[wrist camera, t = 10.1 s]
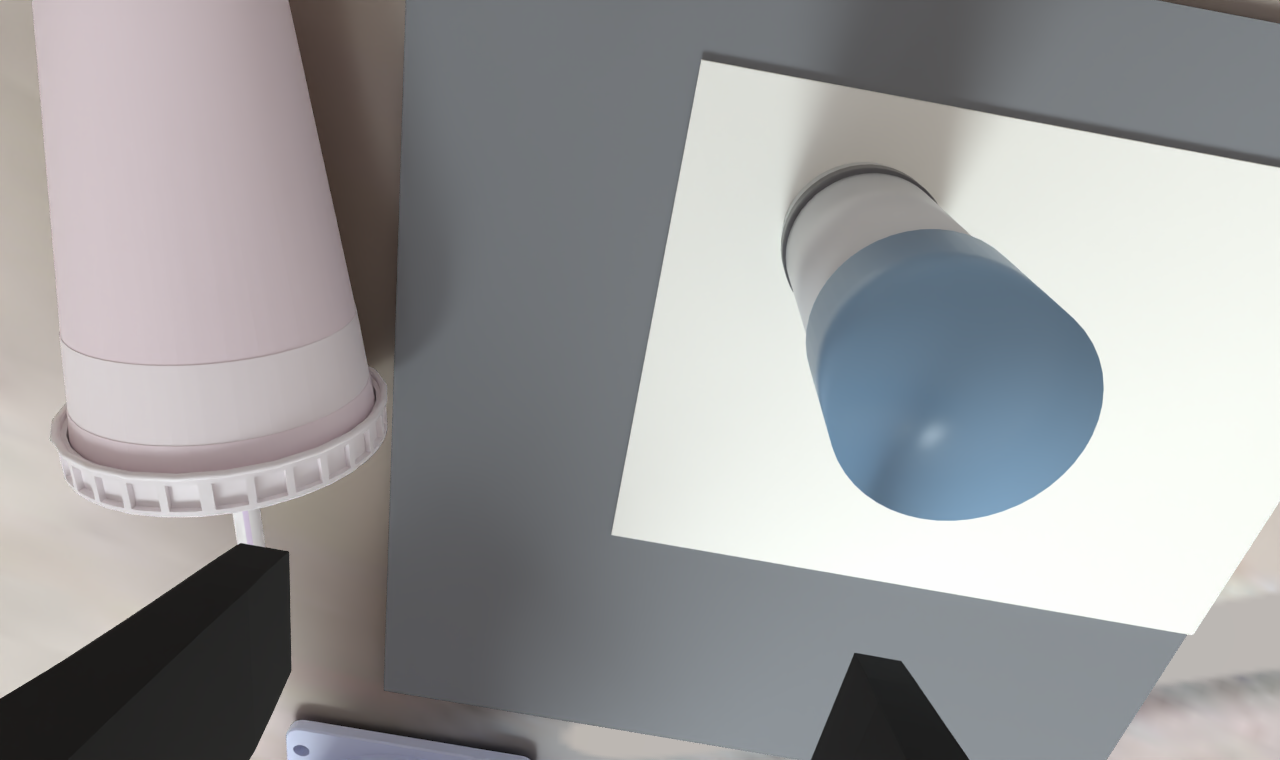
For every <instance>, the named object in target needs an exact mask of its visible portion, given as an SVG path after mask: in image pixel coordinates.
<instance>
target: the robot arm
mask: <svg viewBox="0 0 1280 760" xmlns="http://www.w3.org/2000/svg"><path fill="white" fill-rule="evenodd" d="M290 672H291V627H290V574H289V552H288V551H283V550H277V549H271V548H266V547H260V546H255V545H249V544H243V543H240V544H238V545H236V546H235V547H233V548H232V549H230V550H229V551H227V552H226V553H224V554H223V555H221V556H220V557H218V558H217V559H215V560H214V561H212V562H211V563H209V564H208V565H206V566H205V567H203V568H202V569H200V570H199V571H197V572H196V573H194V574H193V575H191V576H190V577H188V578H187V579H185V580H184V581H183V582H181V583H180V584H178V585H177V586H175V587H174V588H172V589H171V590H169V591H168V592H166V593H165V594H163V595H162V596H160V597H159V598H157V599H156V600H155V601H153V602H152V603H150V604H149V605H147V606H146V607H144V608H143V609H141V610H140V611H138V612H137V613H135V614H134V615H132V616H131V617H129V618H128V619H126V620H125V621H123V622H122V623H120V624H119V625H117V626H115V627H114V628H112V629H111V630H109V631H108V632H106V633H105V634H103V635H102V636H100V637H99V638H97V639H96V640H94V641H92V642H91V643H89V644H88V645H86V646H85V647H83V648H82V649H80V650H79V651H77V652H76V653H74V654H72V655H71V656H69V657H68V658H66V659H65V660H63V661H62V662H60V663H58V664H57V665H55V666H54V667H52V668H50V669H49V670H47V671H45V672H44V673H42V674H40V675H39V676H37V677H36V678H34V679H32V680H31V681H29V682H27V683H26V684H24V685H22V686H21V687H19V688H17V689H16V690H14V691H12V692H11V693H9V694H7V695H6V696H4V697H2V698H1V699H0V760H249V759H250V758H251V756H252V754H253V753H254V751H255V749H256V747H257V745H258V743H259V741H260V739H261V736H262V734H263V732H264V730H265V728H266V726H267V724H268V722H269V719H270V717H271V715H272V713H273V711H274V709H275V706H276V704H277V702H278V700H279V697H280V695H281V693H282V691H283V688H284V686H285V684H286V681H287V679H288V677H289V675H290ZM286 745H287V760H530V759H529V758H527V757H524V756H520V755H514V754H508V753H502V752H496V751H489V750H483V749H477V748H471V747H465V746H459V745H453V744H447V743H441V742H435V741H429V740H423V739H417V738H411V737H405V736H399V735H393V734H387V733H381V732H375V731H369V730H363V729H357V728H351V727H345V726H339V725H333V724H327V723H321V722H315V721H308V720H298V721H295V722H293V723H292V724H291V726H290V728H289V730H288V732H287V735H286ZM811 760H969V758H968V757H967V755H966V754H965V752H964V751H963V749H962V748H961V747H960V745H959V744H958V742H957V741H956V739H955V738H954V736H953V735H952V734H951V732H950V731H949V729H948V728H947V726H946V725H945V723H944V722H943V720H942V719H941V718H940V716H939V715H938V713H937V712H936V710H935V709H934V707H933V706H932V704H931V703H930V701H929V700H928V698H927V697H926V696H925V694H924V693H923V691H922V690H921V688H920V687H919V685H918V684H917V682H916V681H915V679H914V678H913V677H912V675H911V674H910V672H909V671H908V669H907V668H906V667H905V665H904V664H903V662H902V661H899V660H893V659H888V658H882V657H877V656H871V655H865V654H860V653H854V655H853V658H852V660H851V662H850V665H849V667H848V670H847V672H846V675H845V677H844V680H843V682H842V685H841V687H840V690H839V692H838V694H837V697H836V699H835V702H834V704H833V707H832V709H831V712H830V714H829V717H828V719H827V721H826V724H825V726H824V729H823V731H822V734H821V736H820V739H819V741H818V744H817V746H816V748H815V751H814V753H813V756H812V758H811Z"/></svg>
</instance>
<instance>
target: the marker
mask: <svg viewBox="0 0 1280 760" xmlns="http://www.w3.org/2000/svg"><path fill="white" fill-rule="evenodd" d="M781 259H782V263H783V267H784V271H785V274H786V278H787V280H788V283H789V285H790V288H791V289H792V291H793V293H794V296H795V299H796V302H797V306H798V309H799V312H800V316H801V319H802V322H803V326H804V329H805V332H806V353H807V359H808V363H809V367H810V371H811V375H812V378H813V382H814V385H815V389H816V392H817V396H818V399H819V403H820V406H821V410H822V413H823V417H824V420H825V424H826V427H827V431H828V434H829V438H830V441H831V445H832V448H833V451H834V453H835V456H836V458H837V460H838V462H839V464H840V466H841V467H842V469H843V471H844V472H845V474H846V475H847V476H848V478H849V479H850V480H851V481H852V482H853V484H854V485H855V486H856V487H857V488H859V489H860V490H861V491H862V492H863V493H864V494H865V495H867V496H868V497H870V498H871V499H872V500H874V501H875V502H877V503H879V504H881V505H883V506H884V507H886V508H888V509H890V510H893V511H896V512H898V513H901V514H904V515H907V516H912V517H916V518H920V519H928V520H936V521H958V520H969V519H975V518H980V517H985V516H989V515H992V514H996V513H999V512H1002V511H1005V510H1008V509H1010V508H1012V507H1015V506H1017V505H1020V504H1022V503H1023V502H1025V501H1027V500H1029V499H1031V498H1033V497H1035V496H1036V495H1038V494H1039V493H1041V492H1042V491H1044V490H1045V489H1047V488H1048V487H1049V486H1051V485H1052V484H1053V483H1054V482H1055V481H1057V480H1058V479H1059V478H1060V477H1061V476H1062V475H1063V474H1064V473H1065V472H1066V471H1067V470H1068V469H1069V468H1070V467H1071V466H1072V465H1073V464H1074V463H1075V461H1076V460H1077V459H1078V457H1079V456H1080V455H1081V453H1082V452H1083V451H1084V449H1085V447H1086V446H1087V444H1088V442H1089V440H1090V439H1091V437H1092V435H1093V433H1094V430H1095V428H1096V425H1097V423H1098V420H1099V416H1100V412H1101V408H1102V403H1103V392H1104V384H1103V372H1102V368H1101V364H1100V360H1099V357H1098V354H1097V352H1096V349H1095V347H1094V345H1093V343H1092V341H1091V340H1090V338H1089V337H1088V335H1087V333H1086V332H1085V330H1084V329H1083V328H1082V327H1081V326H1080V325H1079V324H1078V323H1077V322H1076V320H1075V319H1074V318H1073V317H1072V316H1070V315H1069V314H1068V313H1067V312H1066V311H1065V310H1064V309H1063V308H1062V307H1060V306H1059V305H1058V304H1057V303H1056V302H1055V301H1054V300H1053V299H1051V298H1050V297H1049V296H1048V295H1047V294H1046V293H1045V292H1044V291H1043V290H1041V289H1040V288H1039V287H1038V286H1037V285H1036V284H1035V283H1034V282H1032V281H1031V280H1030V279H1029V278H1028V277H1027V276H1026V275H1025V274H1024V273H1022V272H1021V271H1020V270H1019V269H1018V268H1017V267H1016V266H1015V265H1013V264H1012V263H1011V262H1010V261H1009V260H1008V259H1007V258H1006V257H1005V256H1003V255H1002V254H1001V253H1000V252H998V251H997V250H996V249H995V248H993V247H992V246H990V245H989V244H987V243H985V242H983V241H982V240H980V239H977V238H975V237H972V236H971V235H970V234H969V233H968V232H967V231H966V230H965V229H964V228H963V227H961V226H960V225H959V224H958V223H957V222H956V221H955V220H954V219H953V218H952V217H951V216H950V215H949V214H947V213H946V212H945V211H944V210H943V209H942V208H941V207H940V206H939V205H938V204H937V202H936V201H935V199H934V198H933V197H932V196H931V195H930V194H929V192H928V191H927V190H926V189H925V188H923V187H922V186H921V185H920V184H919V183H918V182H917V181H915V180H914V179H913V178H912V177H910V176H908V175H907V174H905V173H903V172H901V171H899V170H896V169H894V168H891V167H889V166H886V165H882V164H878V163H871V162H855V163H849V164H844V165H841V166H837V167H835V168H832V169H830V170H827V171H826V172H824V173H822V174H820V175H819V176H817V177H816V178H814V179H813V180H812V181H810V182H809V183H808V184H807V185H806V186H805V187H804V188H803V189H802V190H801V191H800V192H799V194H798V195H797V196H796V197H795V199H794V200H793V202H792V204H791V205H790V207H789V209H788V211H787V214H786V216H785V219H784V223H783V227H782V233H781Z"/></svg>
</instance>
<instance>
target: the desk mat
mask: <svg viewBox="0 0 1280 760" xmlns="http://www.w3.org/2000/svg"><path fill="white" fill-rule="evenodd" d="M701 59H703V60H708V61H713V62H719V63H724V64H729V65H735V66H740V67H745V68H751V69H756V70H762V71H767V72H772V73H778V74H783V75H788V76H794V77H799V78H804V79H810V80H815V81H820V82H826V83H831V84H836V85H842V86H847V87H853V88H858V89H863V90H869V91H874V92H879V93H885V94H890V95H895V96H901V97H906V98H911V99H917V100H922V101H927V102H933V103H938V104H943V105H949V106H954V107H960V108H965V109H970V110H976V111H981V112H986V113H992V114H997V115H1002V116H1008V117H1013V118H1018V119H1024V120H1029V121H1034V122H1040V123H1045V124H1051V125H1056V126H1061V127H1067V128H1072V129H1077V130H1083V131H1088V132H1093V133H1099V134H1104V135H1109V136H1115V137H1120V138H1125V139H1131V140H1136V141H1142V142H1147V143H1152V144H1158V145H1163V146H1168V147H1174V148H1179V149H1184V150H1190V151H1195V152H1200V153H1206V154H1211V155H1216V156H1222V157H1227V158H1233V159H1238V160H1243V161H1249V162H1254V163H1259V164H1265V165H1270V166H1275V167H1280V24H1279V23H1274V22H1268V21H1263V20H1258V19H1253V18H1247V17H1242V16H1237V15H1232V14H1226V13H1221V12H1216V11H1211V10H1205V9H1200V8H1195V7H1190V6H1185V5H1179V4H1174V3H1169V2H1164V1H1158V0H406V12H405V43H404V74H403V105H402V137H401V168H400V199H399V230H398V262H397V293H396V324H395V355H394V387H393V418H392V449H391V480H390V512H389V543H388V574H387V605H386V637H385V668H384V691H389V692H395V693H401V694H407V695H413V696H419V697H425V698H431V699H437V700H443V701H449V702H455V703H461V704H467V705H473V706H479V707H485V708H491V709H497V710H503V711H509V712H515V713H521V714H527V715H533V716H539V717H545V718H551V719H557V720H563V721H569V722H575V723H581V724H587V725H593V726H599V727H605V728H611V729H617V730H624V731H629V732H635V733H641V734H647V735H653V736H659V737H665V738H671V739H677V740H683V741H689V742H695V743H702V744H707V745H713V746H719V747H725V748H731V749H737V750H743V751H749V752H755V753H761V754H767V755H773V756H779V757H785V758H791V759H797V760H811V758H812V756H813V753H814V751H815V748H816V746H817V744H818V741H819V739H820V736H821V734H822V731H823V729H824V726H825V724H826V721H827V719H828V717H829V714H830V712H831V709H832V707H833V704H834V702H835V699H836V697H837V694H838V692H839V690H840V687H841V685H842V682H843V680H844V677H845V675H846V672H847V670H848V667H849V665H850V662H851V660H852V658H853V655H854V653H860V654H865V655H871V656H877V657H882V658H888V659H893V660H899V661H902V662H903V664H904V665H905V667H906V668H907V669H908V671H909V672H910V674H911V675H912V677H913V678H914V679H915V681H916V682H917V684H918V685H919V687H920V688H921V690H922V691H923V693H924V694H925V696H926V697H927V698H928V700H929V701H930V703H931V704H932V706H933V707H934V709H935V710H936V712H937V713H938V715H939V716H940V718H941V719H942V720H943V722H944V723H945V725H946V726H947V728H948V729H949V731H950V732H951V734H952V735H953V736H954V738H955V739H956V741H957V742H958V744H959V745H960V747H961V748H962V749H963V751H964V752H965V754H966V755H967V757H968V758H969V760H1107V759H1108V757H1109V755H1110V754H1111V752H1112V751H1113V749H1114V748H1115V746H1116V745H1117V743H1118V741H1119V740H1120V738H1121V737H1122V735H1123V734H1124V732H1125V731H1126V729H1127V727H1128V726H1129V724H1130V723H1131V721H1132V720H1133V718H1134V717H1135V715H1136V713H1137V712H1138V710H1139V709H1140V707H1141V706H1142V704H1143V703H1144V701H1145V699H1146V698H1147V696H1148V695H1149V693H1150V692H1151V690H1152V689H1153V687H1154V686H1155V684H1156V682H1157V681H1158V679H1159V678H1160V676H1161V675H1162V673H1163V672H1164V670H1165V668H1166V667H1167V665H1168V664H1169V662H1170V661H1171V659H1172V658H1173V656H1174V654H1175V653H1176V651H1177V650H1178V648H1179V646H1180V645H1181V644H1182V642H1183V640H1184V639H1185V637H1186V636H1187V634H1182V633H1176V632H1170V631H1165V630H1159V629H1153V628H1147V627H1141V626H1136V625H1130V624H1124V623H1118V622H1113V621H1107V620H1101V619H1095V618H1089V617H1084V616H1078V615H1072V614H1066V613H1060V612H1055V611H1049V610H1043V609H1037V608H1031V607H1026V606H1020V605H1014V604H1008V603H1002V602H997V601H991V600H985V599H979V598H973V597H968V596H962V595H956V594H950V593H944V592H939V591H933V590H927V589H921V588H915V587H910V586H904V585H898V584H892V583H887V582H881V581H875V580H869V579H863V578H858V577H852V576H846V575H840V574H834V573H829V572H823V571H817V570H811V569H805V568H800V567H794V566H788V565H782V564H776V563H771V562H765V561H759V560H753V559H747V558H742V557H736V556H730V555H724V554H718V553H713V552H707V551H701V550H695V549H689V548H684V547H678V546H672V545H666V544H661V543H655V542H649V541H643V540H637V539H632V538H626V537H620V536H614V535H611V534H612V528H613V523H614V517H615V512H616V507H617V501H618V496H619V491H620V486H621V480H622V475H623V470H624V465H625V459H626V454H627V449H628V443H629V438H630V433H631V428H632V422H633V417H634V412H635V407H636V401H637V396H638V391H639V385H640V380H641V375H642V370H643V364H644V359H645V354H646V349H647V343H648V338H649V333H650V327H651V322H652V317H653V312H654V306H655V301H656V296H657V291H658V285H659V280H660V275H661V269H662V264H663V259H664V254H665V248H666V243H667V238H668V233H669V227H670V222H671V217H672V211H673V206H674V201H675V196H676V190H677V185H678V180H679V175H680V169H681V164H682V159H683V153H684V148H685V143H686V138H687V132H688V127H689V122H690V117H691V111H692V106H693V101H694V96H695V90H696V85H697V80H698V74H699V69H700V64H701Z"/></svg>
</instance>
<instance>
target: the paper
mask: <svg viewBox="0 0 1280 760" xmlns="http://www.w3.org/2000/svg"><path fill="white" fill-rule="evenodd" d="M855 162H871V163H878V164H882V165H886V166H889V167H891V168H894V169H896V170H899V171H901V172H903V173H905V174H907V175H908V176H910V177H912V178H913V179H914V180H915V181H917V182H918V183H919V184H920V185H921V186H922V187H923V188H925V189H926V190H927V191H928V192H929V194H930V195H931V196H932V197H933V198H934V199H935V201H936V202H937V204H938V205H939V206H940V207H941V208H942V209H943V210H944V211H945V212H946V213H947V214H949V215H950V216H951V217H952V218H953V219H954V220H955V221H956V222H957V223H958V224H959V225H960V226H961V227H963V228H964V229H965V230H966V231H967V232H968V233H969V234H970V235H971V236H972V237H975V238H977V239H980V240H982V241H983V242H985V243H987V244H989V245H990V246H992V247H993V248H995V249H996V250H997V251H998V252H1000V253H1001V254H1002V255H1003V256H1005V257H1006V258H1007V259H1008V260H1009V261H1010V262H1011V263H1012V264H1013V265H1015V266H1016V267H1017V268H1018V269H1019V270H1020V271H1021V272H1022V273H1024V274H1025V275H1026V276H1027V277H1028V278H1029V279H1030V280H1031V281H1032V282H1034V283H1035V284H1036V285H1037V286H1038V287H1039V288H1040V289H1041V290H1043V291H1044V292H1045V293H1046V294H1047V295H1048V296H1049V297H1050V298H1051V299H1053V300H1054V301H1055V302H1056V303H1057V304H1058V305H1059V306H1060V307H1062V308H1063V309H1064V310H1065V311H1066V312H1067V313H1068V314H1069V315H1070V316H1072V317H1073V318H1074V319H1075V320H1076V322H1077V323H1078V324H1079V325H1080V326H1081V327H1082V328H1083V329H1084V330H1085V332H1086V333H1087V335H1088V337H1089V338H1090V340H1091V341H1092V343H1093V345H1094V347H1095V349H1096V352H1097V354H1098V357H1099V360H1100V364H1101V368H1102V372H1103V384H1104V392H1103V403H1102V408H1101V412H1100V416H1099V420H1098V423H1097V425H1096V428H1095V430H1094V433H1093V435H1092V437H1091V439H1090V440H1089V442H1088V444H1087V446H1086V447H1085V449H1084V451H1083V452H1082V453H1081V455H1080V456H1079V457H1078V459H1077V460H1076V461H1075V463H1074V464H1073V465H1072V466H1071V467H1070V468H1069V469H1068V470H1067V471H1066V472H1065V473H1064V474H1063V475H1062V476H1061V477H1060V478H1059V479H1058V480H1057V481H1055V482H1054V483H1053V484H1052V485H1051V486H1049V487H1048V488H1047V489H1045V490H1044V491H1042V492H1041V493H1039V494H1038V495H1036V496H1035V497H1033V498H1031V499H1029V500H1027V501H1025V502H1023V503H1022V504H1020V505H1017V506H1015V507H1012V508H1010V509H1008V510H1005V511H1002V512H999V513H996V514H992V515H989V516H985V517H980V518H975V519H969V520H958V521H936V520H928V519H920V518H916V517H912V516H907V515H904V514H901V513H898V512H896V511H893V510H890V509H888V508H886V507H884V506H883V505H881V504H879V503H877V502H875V501H874V500H872V499H871V498H870V497H868V496H867V495H865V494H864V493H863V492H862V491H861V490H860V489H859V488H857V487H856V486H855V485H854V484H853V482H852V481H851V480H850V479H849V478H848V476H847V475H846V474H845V472H844V471H843V469H842V467H841V466H840V464H839V462H838V460H837V458H836V456H835V453H834V451H833V448H832V445H831V441H830V438H829V434H828V431H827V427H826V424H825V420H824V417H823V413H822V410H821V406H820V403H819V399H818V396H817V392H816V389H815V385H814V382H813V378H812V375H811V371H810V367H809V363H808V359H807V353H806V332H805V329H804V326H803V322H802V319H801V316H800V312H799V309H798V306H797V302H796V299H795V296H794V293H793V291H792V289H791V288H790V285H789V283H788V280H787V278H786V274H785V271H784V267H783V263H782V259H781V233H782V227H783V223H784V219H785V216H786V214H787V211H788V209H789V207H790V205H791V204H792V202H793V200H794V199H795V197H796V196H797V195H798V194H799V192H800V191H801V190H802V189H803V188H804V187H805V186H806V185H807V184H808V183H809V182H810V181H812V180H813V179H814V178H816V177H817V176H819V175H820V174H822V173H824V172H826V171H827V170H830V169H832V168H835V167H837V166H841V165H844V164H849V163H855ZM1279 502H1280V167H1275V166H1270V165H1265V164H1259V163H1254V162H1249V161H1243V160H1238V159H1233V158H1227V157H1222V156H1216V155H1211V154H1206V153H1200V152H1195V151H1190V150H1184V149H1179V148H1174V147H1168V146H1163V145H1158V144H1152V143H1147V142H1142V141H1136V140H1131V139H1125V138H1120V137H1115V136H1109V135H1104V134H1099V133H1093V132H1088V131H1083V130H1077V129H1072V128H1067V127H1061V126H1056V125H1051V124H1045V123H1040V122H1034V121H1029V120H1024V119H1018V118H1013V117H1008V116H1002V115H997V114H992V113H986V112H981V111H976V110H970V109H965V108H960V107H954V106H949V105H943V104H938V103H933V102H927V101H922V100H917V99H911V98H906V97H901V96H895V95H890V94H885V93H879V92H874V91H869V90H863V89H858V88H853V87H847V86H842V85H836V84H831V83H826V82H820V81H815V80H810V79H804V78H799V77H794V76H788V75H783V74H778V73H772V72H767V71H762V70H756V69H751V68H745V67H740V66H735V65H729V64H724V63H719V62H713V61H708V60H703V59H701V64H700V69H699V74H698V80H697V85H696V90H695V96H694V101H693V106H692V111H691V117H690V122H689V127H688V132H687V138H686V143H685V148H684V153H683V159H682V164H681V169H680V175H679V180H678V185H677V190H676V196H675V201H674V206H673V211H672V217H671V222H670V227H669V233H668V238H667V243H666V248H665V254H664V259H663V264H662V269H661V275H660V280H659V285H658V291H657V296H656V301H655V306H654V312H653V317H652V322H651V327H650V333H649V338H648V343H647V349H646V354H645V359H644V364H643V370H642V375H641V380H640V385H639V391H638V396H637V401H636V407H635V412H634V417H633V422H632V428H631V433H630V438H629V443H628V449H627V454H626V459H625V465H624V470H623V475H622V480H621V486H620V491H619V496H618V501H617V507H616V512H615V517H614V523H613V528H612V534H611V535H614V536H620V537H626V538H632V539H637V540H643V541H649V542H655V543H661V544H666V545H672V546H678V547H684V548H689V549H695V550H701V551H707V552H713V553H718V554H724V555H730V556H736V557H742V558H747V559H753V560H759V561H765V562H771V563H776V564H782V565H788V566H794V567H800V568H805V569H811V570H817V571H823V572H829V573H834V574H840V575H846V576H852V577H858V578H863V579H869V580H875V581H881V582H887V583H892V584H898V585H904V586H910V587H915V588H921V589H927V590H933V591H939V592H944V593H950V594H956V595H962V596H968V597H973V598H979V599H985V600H991V601H997V602H1002V603H1008V604H1014V605H1020V606H1026V607H1031V608H1037V609H1043V610H1049V611H1055V612H1060V613H1066V614H1072V615H1078V616H1084V617H1089V618H1095V619H1101V620H1107V621H1113V622H1118V623H1124V624H1130V625H1136V626H1141V627H1147V628H1153V629H1159V630H1165V631H1170V632H1176V633H1182V634H1188V635H1193V634H1194V633H1195V631H1196V630H1197V628H1198V626H1199V625H1200V623H1201V622H1202V620H1203V618H1204V617H1205V616H1206V614H1207V613H1208V611H1209V610H1210V608H1211V606H1212V605H1213V603H1214V602H1215V600H1216V599H1217V597H1218V596H1219V594H1220V593H1221V591H1222V589H1223V588H1224V586H1225V585H1226V583H1227V582H1228V580H1229V579H1230V577H1231V576H1232V574H1233V573H1234V571H1235V569H1236V568H1237V566H1238V565H1239V563H1240V562H1241V560H1242V559H1243V557H1244V556H1245V554H1246V552H1247V551H1248V549H1249V548H1250V546H1251V545H1252V543H1253V542H1254V540H1255V539H1256V537H1257V535H1258V534H1259V532H1260V531H1261V529H1262V528H1263V526H1264V525H1265V523H1266V522H1267V520H1268V519H1269V517H1270V515H1271V514H1272V512H1273V511H1274V509H1275V508H1276V506H1277V505H1278V503H1279Z"/></svg>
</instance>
